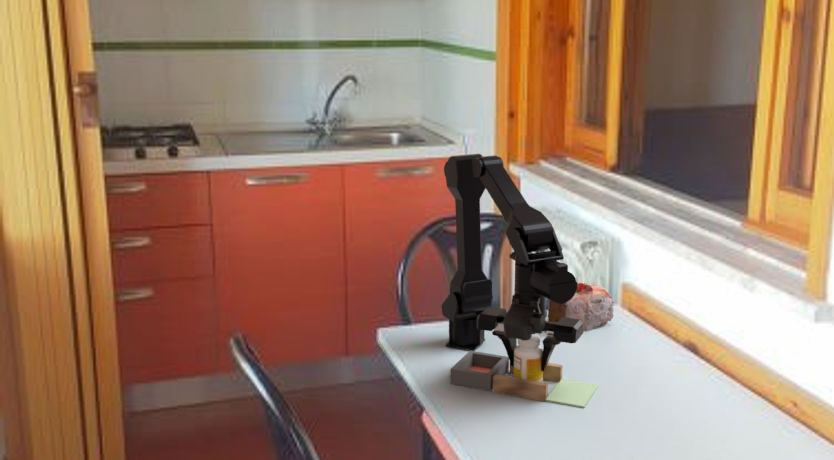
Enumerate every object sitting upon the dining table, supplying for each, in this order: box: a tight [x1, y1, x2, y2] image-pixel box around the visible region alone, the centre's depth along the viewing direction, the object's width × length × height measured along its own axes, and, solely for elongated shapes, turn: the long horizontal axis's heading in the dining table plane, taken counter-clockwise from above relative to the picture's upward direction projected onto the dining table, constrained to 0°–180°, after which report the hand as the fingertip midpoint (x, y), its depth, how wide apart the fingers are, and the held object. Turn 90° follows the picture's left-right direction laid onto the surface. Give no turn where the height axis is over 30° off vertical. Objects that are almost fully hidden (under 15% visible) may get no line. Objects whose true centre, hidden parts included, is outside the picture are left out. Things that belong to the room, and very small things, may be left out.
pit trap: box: [449, 350, 510, 392], centre depth 176 cm, size 8×10×3 cm
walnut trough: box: [492, 362, 563, 402], centre depth 172 cm, size 10×10×3 cm
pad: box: [545, 378, 599, 409], centre depth 169 cm, size 7×10×1 cm
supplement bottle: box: [513, 333, 544, 383], centre depth 171 cm, size 5×5×10 cm
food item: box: [547, 282, 615, 332], centre depth 202 cm, size 14×8×10 cm, turn 121°
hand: (528, 368), depth 171 cm, fingers closed on supplement bottle, 5 cm apart
